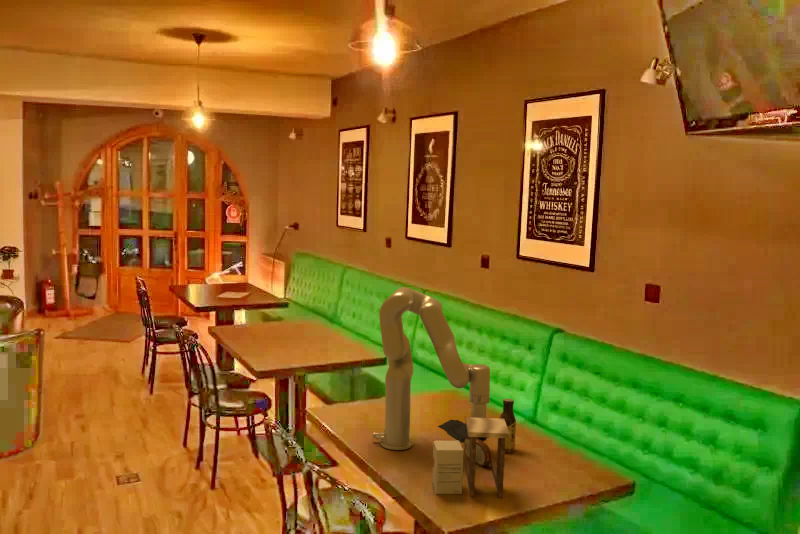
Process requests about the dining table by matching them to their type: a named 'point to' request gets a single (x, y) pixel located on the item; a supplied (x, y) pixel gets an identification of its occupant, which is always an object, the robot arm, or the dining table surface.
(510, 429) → the sauce bottle
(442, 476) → the supplement box
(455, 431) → the dark slate chunk
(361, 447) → the dining table surface
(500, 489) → the miniature wooden stool
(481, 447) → the tin
